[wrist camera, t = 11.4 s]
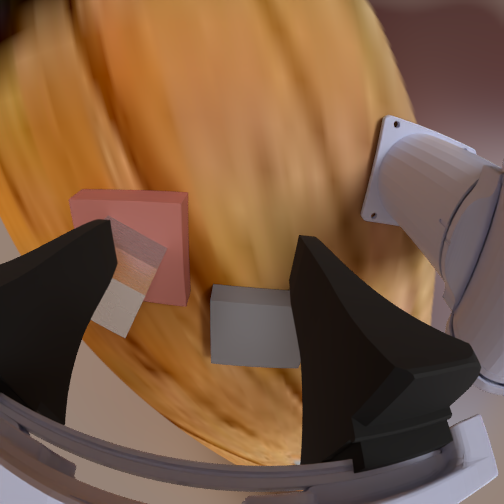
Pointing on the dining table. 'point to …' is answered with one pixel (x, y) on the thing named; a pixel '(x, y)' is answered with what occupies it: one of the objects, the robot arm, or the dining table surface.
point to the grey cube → (128, 278)
